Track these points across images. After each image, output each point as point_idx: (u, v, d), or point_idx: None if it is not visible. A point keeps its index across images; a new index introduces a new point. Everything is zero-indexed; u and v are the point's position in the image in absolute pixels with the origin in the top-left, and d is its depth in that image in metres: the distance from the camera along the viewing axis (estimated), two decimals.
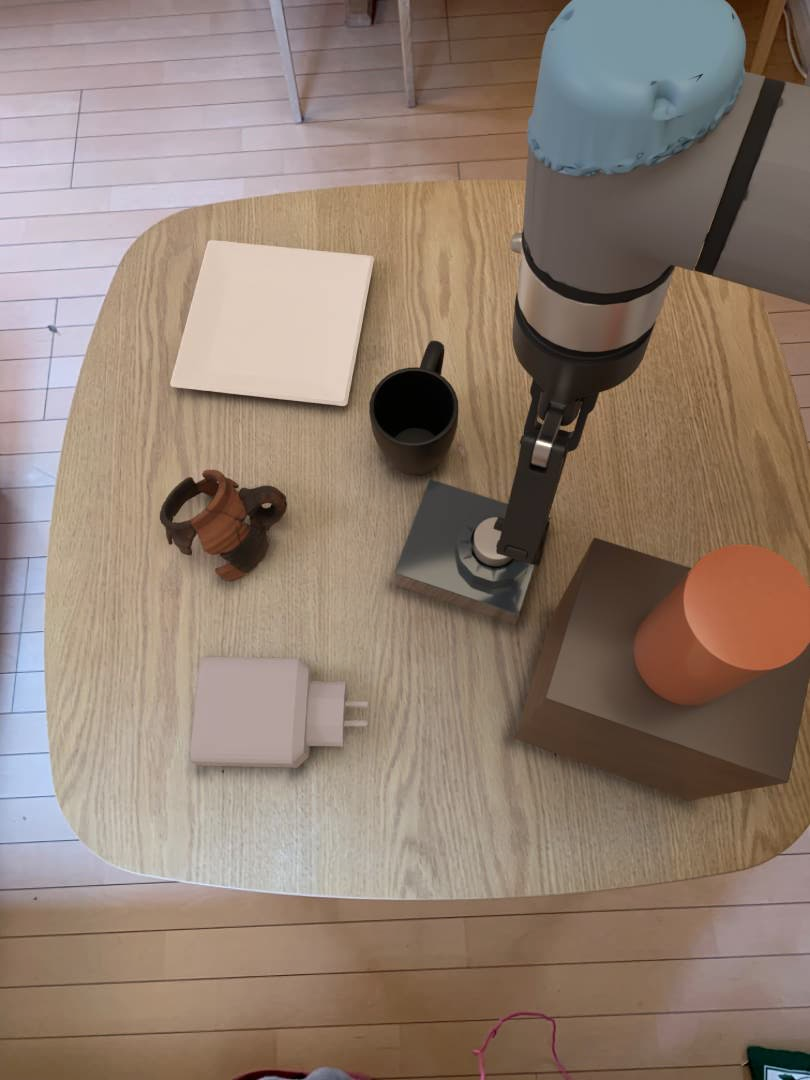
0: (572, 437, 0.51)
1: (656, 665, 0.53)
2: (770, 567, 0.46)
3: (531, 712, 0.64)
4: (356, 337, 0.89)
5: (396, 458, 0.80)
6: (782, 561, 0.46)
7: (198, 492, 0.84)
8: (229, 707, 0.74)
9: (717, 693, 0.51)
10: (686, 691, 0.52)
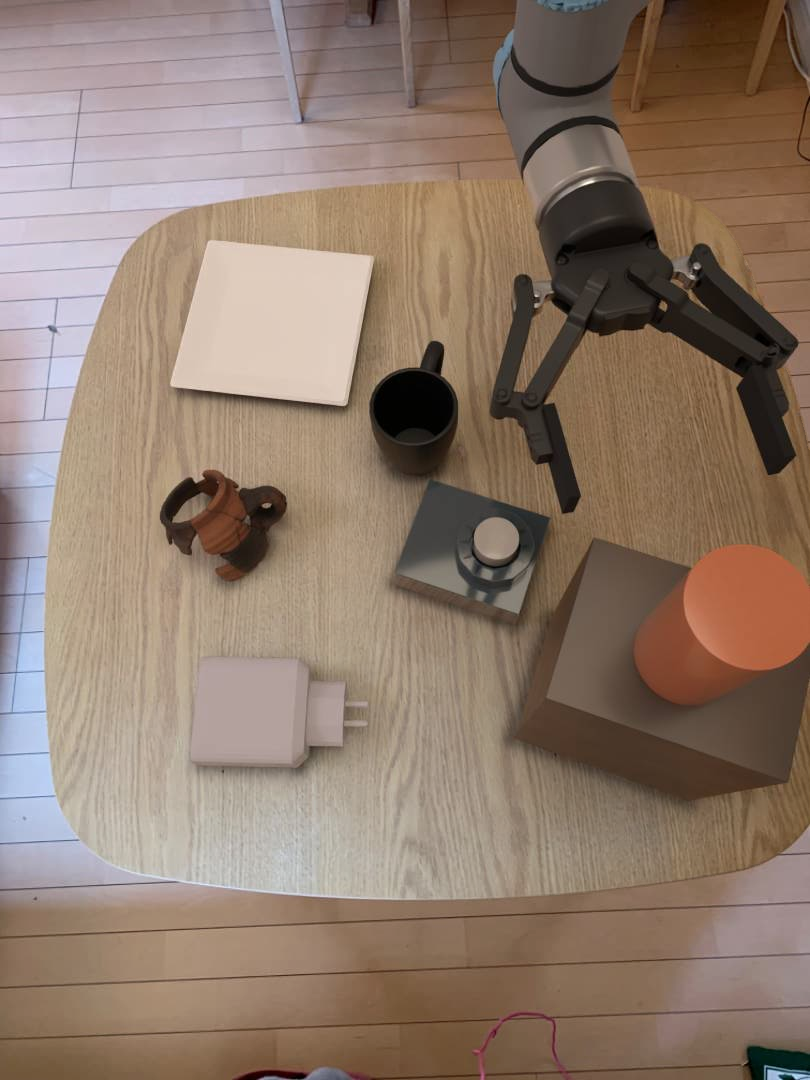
0: None
1: (656, 665, 0.53)
2: (770, 567, 0.46)
3: (531, 712, 0.64)
4: (356, 337, 0.89)
5: (396, 458, 0.80)
6: (782, 561, 0.46)
7: (198, 492, 0.84)
8: (229, 707, 0.74)
9: (717, 693, 0.51)
10: (686, 691, 0.52)
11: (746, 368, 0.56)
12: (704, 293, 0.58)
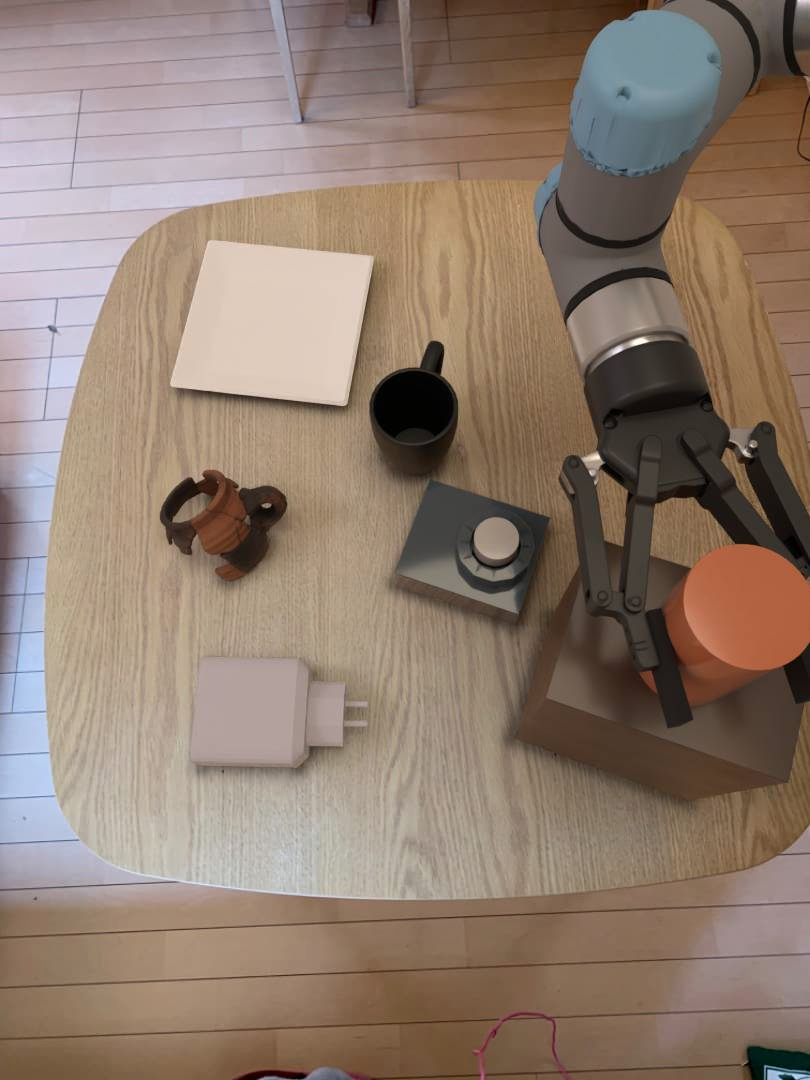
0: (636, 488, 0.52)
1: None
2: (770, 567, 0.46)
3: (531, 712, 0.64)
4: (356, 337, 0.89)
5: (396, 458, 0.80)
6: (782, 561, 0.46)
7: (198, 492, 0.84)
8: (229, 707, 0.73)
9: (717, 693, 0.51)
10: (686, 691, 0.52)
11: None
12: (754, 473, 0.54)
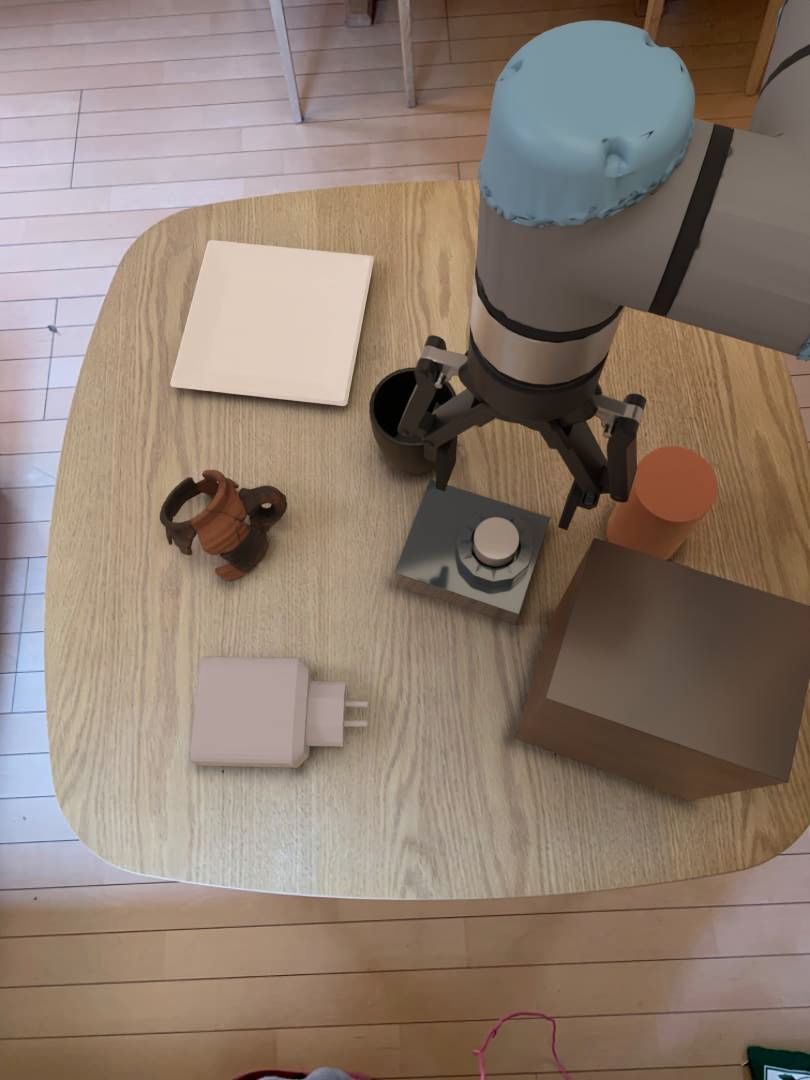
0: (470, 409, 0.53)
1: (620, 534, 0.79)
2: (689, 460, 0.72)
3: (531, 712, 0.64)
4: (356, 337, 0.89)
5: (396, 458, 0.80)
6: (697, 456, 0.72)
7: (198, 492, 0.84)
8: (229, 707, 0.73)
9: (660, 550, 0.77)
10: (640, 550, 0.78)
11: None
12: None
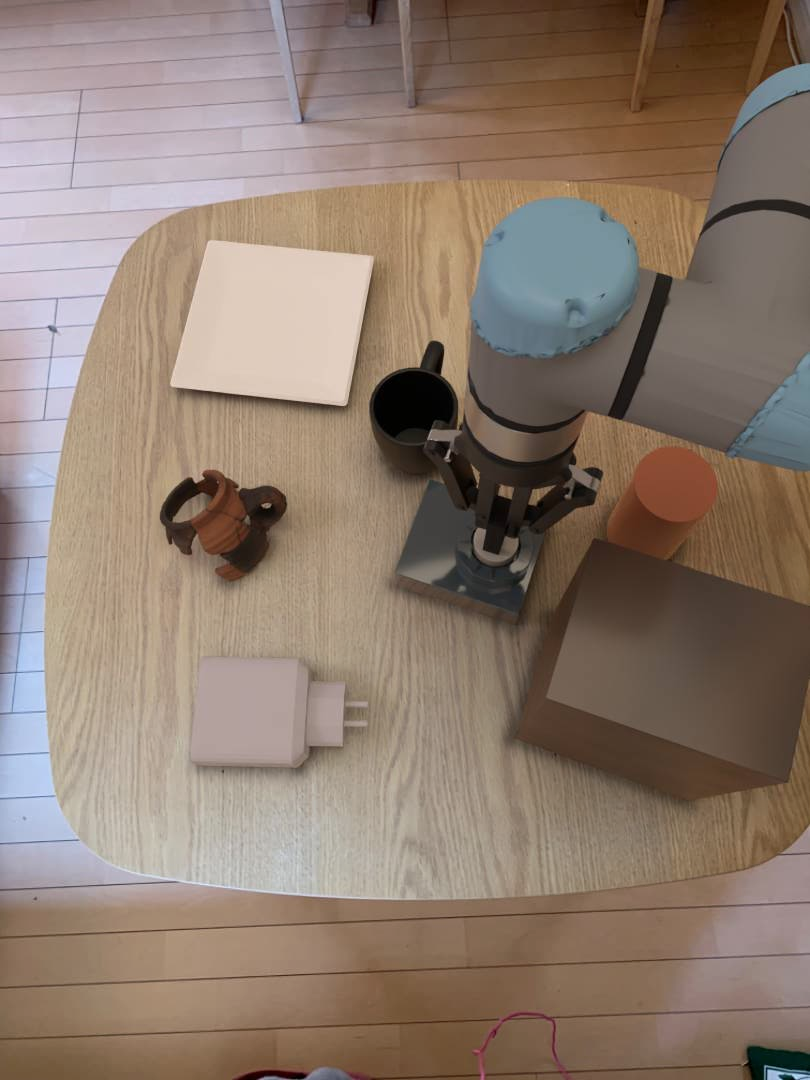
0: None
1: (620, 534, 0.79)
2: (689, 460, 0.72)
3: (531, 712, 0.64)
4: (356, 337, 0.89)
5: (396, 458, 0.80)
6: (697, 456, 0.72)
7: (198, 492, 0.84)
8: (229, 707, 0.73)
9: (660, 550, 0.77)
10: (640, 550, 0.78)
11: None
12: None
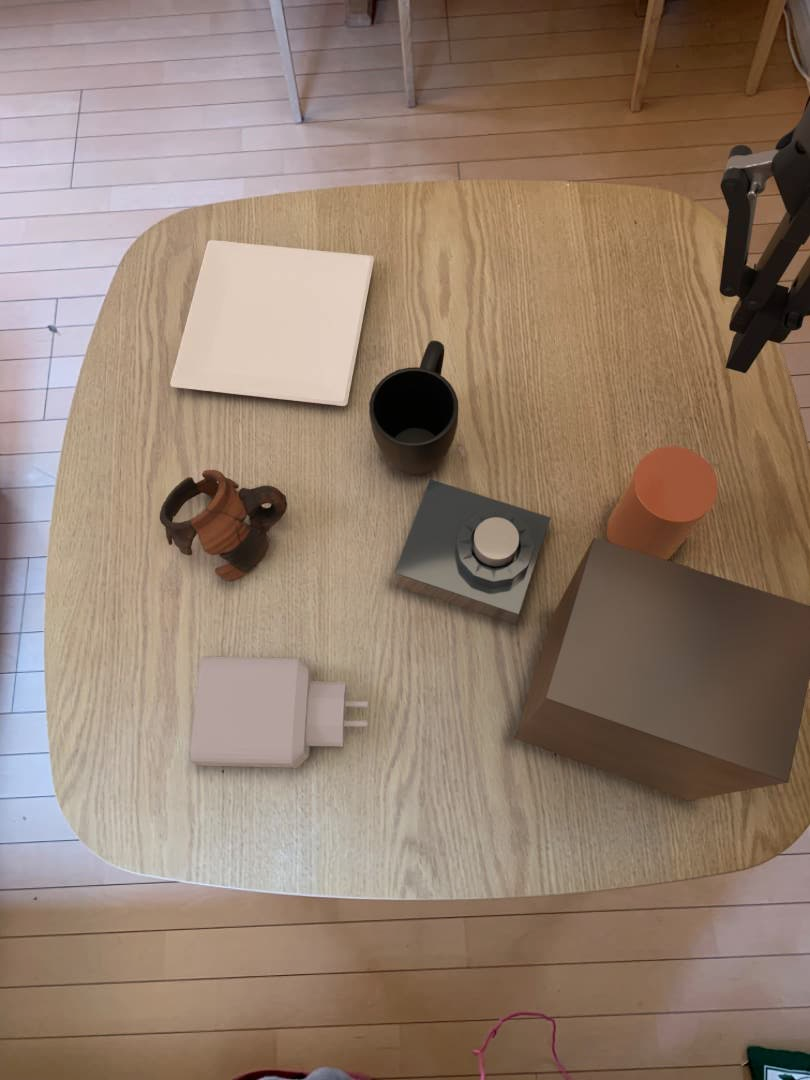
0: (788, 226, 0.48)
1: (620, 534, 0.79)
2: (689, 460, 0.72)
3: (531, 712, 0.64)
4: (356, 337, 0.89)
5: (396, 458, 0.80)
6: (697, 456, 0.72)
7: (198, 492, 0.84)
8: (229, 707, 0.74)
9: (660, 550, 0.77)
10: (640, 550, 0.78)
11: (792, 288, 0.55)
12: None
